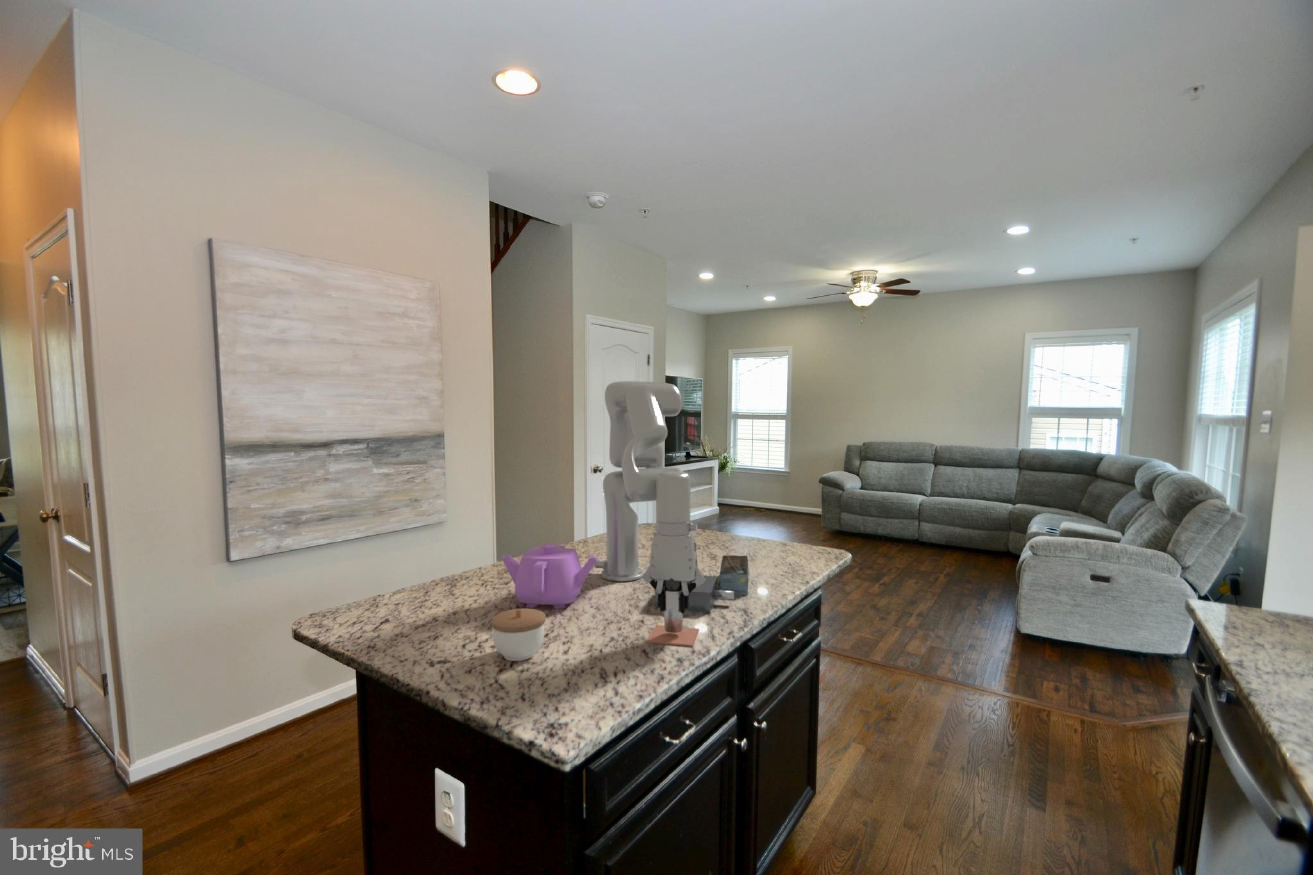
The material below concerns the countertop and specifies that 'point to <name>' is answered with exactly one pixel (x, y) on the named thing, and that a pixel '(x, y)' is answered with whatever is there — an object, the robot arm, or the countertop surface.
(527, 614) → the lidded jar
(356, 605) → the countertop surface
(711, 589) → the grey slotted box
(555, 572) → the teapot
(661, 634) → the mat
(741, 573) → the beverage carton
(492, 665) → the countertop surface
